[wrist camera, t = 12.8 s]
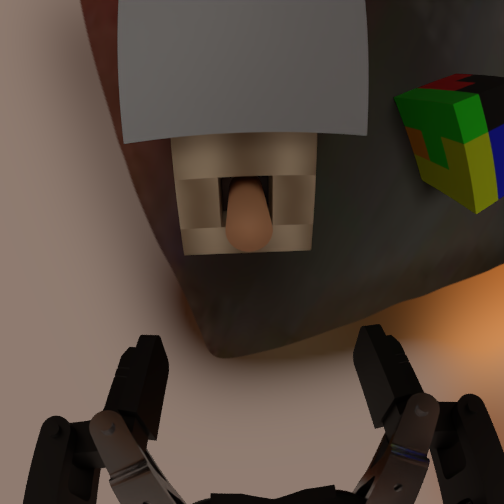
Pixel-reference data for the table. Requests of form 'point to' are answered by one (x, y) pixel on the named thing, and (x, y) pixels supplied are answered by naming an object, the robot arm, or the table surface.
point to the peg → (247, 215)
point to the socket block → (245, 164)
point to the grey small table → (242, 67)
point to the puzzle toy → (458, 136)
